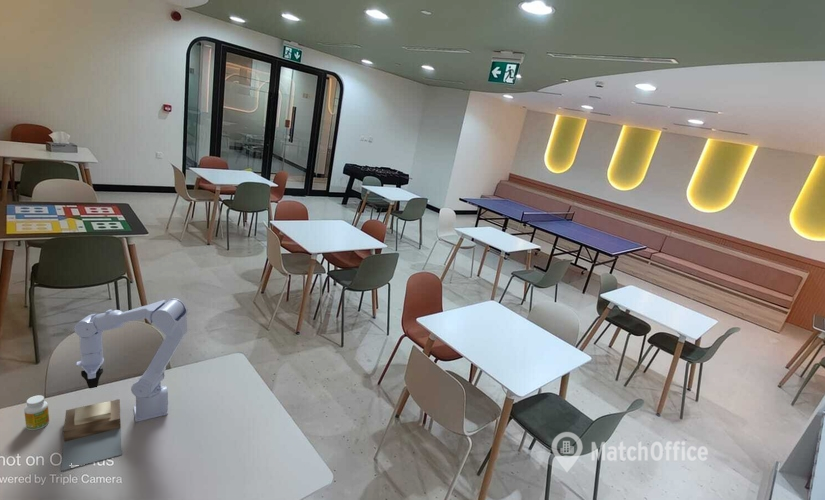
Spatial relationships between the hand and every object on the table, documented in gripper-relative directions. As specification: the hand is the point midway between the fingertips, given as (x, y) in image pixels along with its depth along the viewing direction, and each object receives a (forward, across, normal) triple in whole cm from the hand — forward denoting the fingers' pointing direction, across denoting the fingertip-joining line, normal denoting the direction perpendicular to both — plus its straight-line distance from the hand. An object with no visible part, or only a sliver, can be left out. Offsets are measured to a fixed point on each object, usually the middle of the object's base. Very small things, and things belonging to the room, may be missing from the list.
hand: (93, 384), depth 133 cm
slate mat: (+9, +20, 0) cm, 22 cm away
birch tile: (+5, +10, 0) cm, 11 cm away
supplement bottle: (+10, +3, -14) cm, 17 cm away
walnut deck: (+9, +9, 0) cm, 13 cm away
